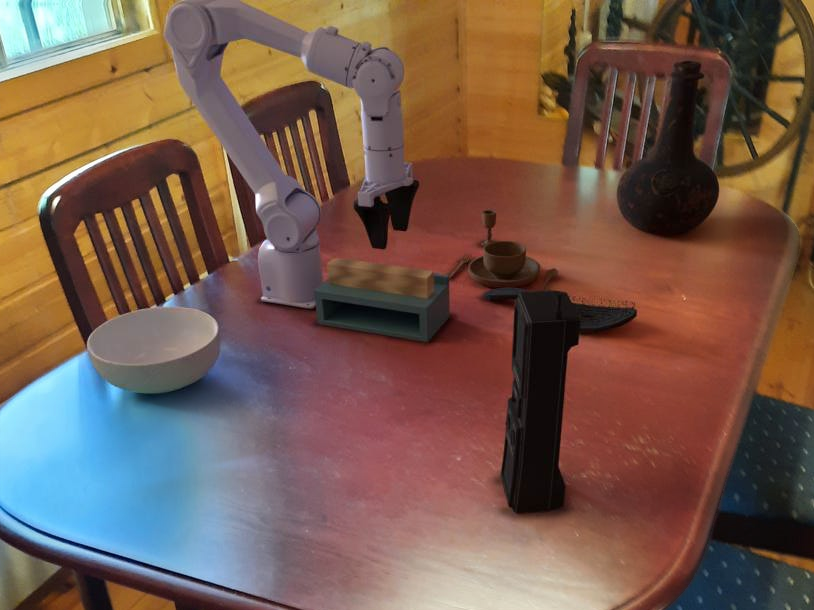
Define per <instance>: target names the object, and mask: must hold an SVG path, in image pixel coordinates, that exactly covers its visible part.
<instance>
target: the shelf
mask: <svg viewBox="0 0 814 610" xmlns="http://www.w3.org/2000/svg"><path fill="white" fill-rule="evenodd" d="M449 276H450V274H442V273H435V272H434V293H433V294H432V295H431V296H430V297H429V298H428V299H426V298H419V297H412V296H406V295H399V294H392V293H386V292H379V291H372V290H366V289H359V288H352V287H346V286H339V285H332V284H329V280H328V278H327V279H326V280H325V281H323V282H324V283H322V284H321V285H320V286H319V287H318V288H316V289H315V290H314V294H315V303H316V307H315V309H316V311H315V312H316V319H317V325H322V326H327V327H334V328H340V329H345V330H351V331H357V332H364V333H367V334H368V333H369V334H375V335H381V336H387V337H394V338H397V339H398V338H400V339H404V340H411V341H417V342H422V343H429V342H430V340H432V338H433V337H434V335H436V333H437V332H438V331H439V330H440V329H441V328H442V326H443V325H444V324H445V323H446V322H447V321H448V319H449V318H450V317H451V316H450V311H451V310H450V309H451V308H450V307H451V306H450V278H449Z"/></svg>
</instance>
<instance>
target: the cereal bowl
mask: <svg viewBox="0 0 814 610" xmlns="http://www.w3.org/2000/svg"><path fill="white" fill-rule="evenodd" d="M221 341H222V340H221V331H220V326H219V324H218V322H217V320H216V319H215V318H214V317H213V316H212V315H210V314H208V313H206V312H205V311H202V310H199V309H195V308H190V307H185V306H156V307H147V308H142V309H137V310H132V311H130V312H126V313H123V314H119V315H117V316H115V317H113V318H111V319H109V320H107V321H105V322H104V323H102V324H101V325H99V326H98V327H96V328H95V329H94V330H93V331H92V332H91V333H90V335H89V337H88V338H87V342H86V349H87V353H88V355H89V359H90V361H91V364H92V366H93V367H94V369H95V371H96V372H97V374H98V375H99V376H100V377H101V378H102V379H103V380H104V381H106V382H107V383H108V384H110V385H111V386H113V387H115V388H118V389H119V390H123V391H127V392H130V393H131V392H132V393H136V394H137V393H139V394H167V393H171V392H174V391H178V390H180V389H182V388H185V387H187V386H190V385H192V384H194V383H195V382H197V381H199V380H200V379H202V378H203V377H205V376H206V375H207V374H208V373H209V372H210V371H211V370H212V368H214V366H215V364H216V363H217V361H218V358H219V356H220V352H221Z"/></svg>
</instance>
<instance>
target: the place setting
mask: <svg viewBox="0 0 814 610" xmlns="http://www.w3.org/2000/svg"><path fill="white" fill-rule="evenodd" d="M481 218H482V219H481V220H482V226H483V227H484V228H485V229H486V234H485V238H486V240H484V241H481V242H480V245H481V246H482V247H483V251H482V253H483V255H481V256H478V257H475V258H474V259H473V260H471V258H472V256H473V253H467V252H465V253H464V255H463V257H462V259H461V260H460V263H459V264H458V265H457V266H456V267H455V268H454V270H453V271H452V272H451V273H450V274H449V279H451V278H453V277H454V276H455V274H456V273H457V272H458V270H460V269H461V267H462V266H463V264H467V263H468V266H467V270H468V271H467V272H468V275H469V276H470V278H471V279H472V280H473V281H475V282H476V283H478V284H480V285H482V286H485V287H488V288H493V289H498V288H510V287H512V288H521V287H523V286H527V285H529V284H531V283H533V282H534V281H536V280H537V279H538V277H539V276H540V273H541V264H540V263H539V261H537V260H536V259H534V258H532V257H530V256H527V248H526V246H525V245H523V243H519V242H517V241H516V242H515V241H510V240H498V241H494V240H492V237H493V235H492V229H493V228H494V227H495V226H496V225H497V211H496V210H494V209H485V210H483V211H482V215H481ZM470 260H471V261H470ZM558 274H559V271H558V269H557V268H556V267H553V268H551V269H548V270H547V271H546V273H545V276H546V279H545V281H544V282H543V283H542V285H541V287H540V288H539V291H545V289H546V287H547V285H548V283H549V282H550V280H552V279H554V278H556V277H557V275H558Z"/></svg>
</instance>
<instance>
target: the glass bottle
mask: <svg viewBox="0 0 814 610" xmlns="http://www.w3.org/2000/svg"><path fill="white" fill-rule="evenodd" d="M701 70H702V63H701V62H698V61H696V60H683V61H679V62H674V63H673V71H672V72H671V73H670V74H669V75H670V76H669V77H670V78H671V84H670V89H669V93H668V94H669V95H668V100H667V104H666V108H665V112H664V116H663V120H662V124H661V128H660V131H659V134H658V137H657V139H656V142H655V144H654V146H653V148H652V150H651V152H650V153H649V154H648V155H646V156H645V157H642V158H640V159H638V160H637V161H635V162H634V163H632V164H630V165H629V166H628V167H627V168H626V170H625V171H624V172H623V173H622V175H621V177H620V179H619V181H618V184H617V188H616V203H617V206H618V209H619V212H620V213H621V215H622V217H623V218H624V219H625V221H626V222H627V223H628V224H629V225H631V226H632V227H633V228H635V229H637V230H639V231H642V232H644V233H648V234H654V235H661V236H663V235H664V236H668V235H669V236H674V235H681V234H685V233H688V232H690V231H692V230H694V229H696V228H697V227H698V226H700V225H701V224H702V223H703V222H704V221H705V220H706V219H708V218H709V216H710V215H711V214H712V212H713V210H714V209H715V208H716V205H717V202H718V200H719V197H720V183H719V180H718V177H717V175H716V173H715V172H714V170H713V169H712V168H711V167H710V166H709V165H708V164H706V163H705V162H703V160H700V159H699V158H697V157H696V155H695V151H694V129H695V128H694V127H695V116H696V115H695V114H696V106H697V95H698V87H699V80H703V79H704V78H705V74H704V73H703V72H701Z"/></svg>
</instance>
